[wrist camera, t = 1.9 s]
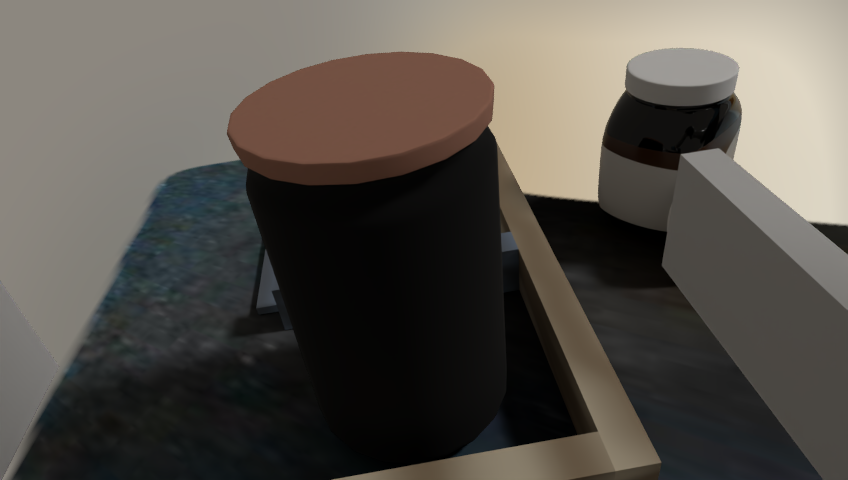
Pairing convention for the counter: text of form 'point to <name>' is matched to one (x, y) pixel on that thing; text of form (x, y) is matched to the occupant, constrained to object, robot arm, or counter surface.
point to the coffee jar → (385, 243)
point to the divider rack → (570, 363)
